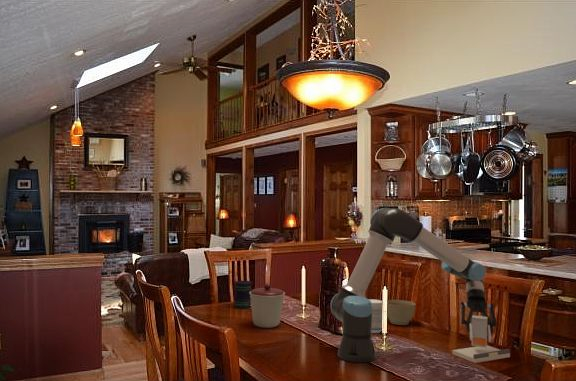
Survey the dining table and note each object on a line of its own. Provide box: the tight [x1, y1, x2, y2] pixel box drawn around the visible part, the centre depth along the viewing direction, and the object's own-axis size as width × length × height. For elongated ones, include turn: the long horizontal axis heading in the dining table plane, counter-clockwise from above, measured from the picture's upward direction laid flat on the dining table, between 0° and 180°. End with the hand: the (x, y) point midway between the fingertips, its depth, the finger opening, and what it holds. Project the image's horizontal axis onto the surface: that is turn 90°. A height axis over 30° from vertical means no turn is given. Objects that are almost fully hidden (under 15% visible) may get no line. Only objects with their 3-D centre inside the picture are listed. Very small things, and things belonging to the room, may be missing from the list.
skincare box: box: [471, 315, 488, 348], centre depth 197 cm, size 6×4×12 cm
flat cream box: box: [451, 344, 511, 364], centre depth 196 cm, size 20×12×3 cm, turn 116°
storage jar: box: [233, 280, 252, 310], centre depth 276 cm, size 10×10×15 cm
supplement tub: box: [369, 299, 383, 334], centre depth 231 cm, size 10×10×15 cm
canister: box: [249, 282, 286, 329], centre depth 237 cm, size 18×18×21 cm
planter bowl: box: [386, 299, 416, 326], centre depth 247 cm, size 16×16×11 cm
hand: (480, 339), depth 194 cm, fingers closed on skincare box, 6 cm apart
